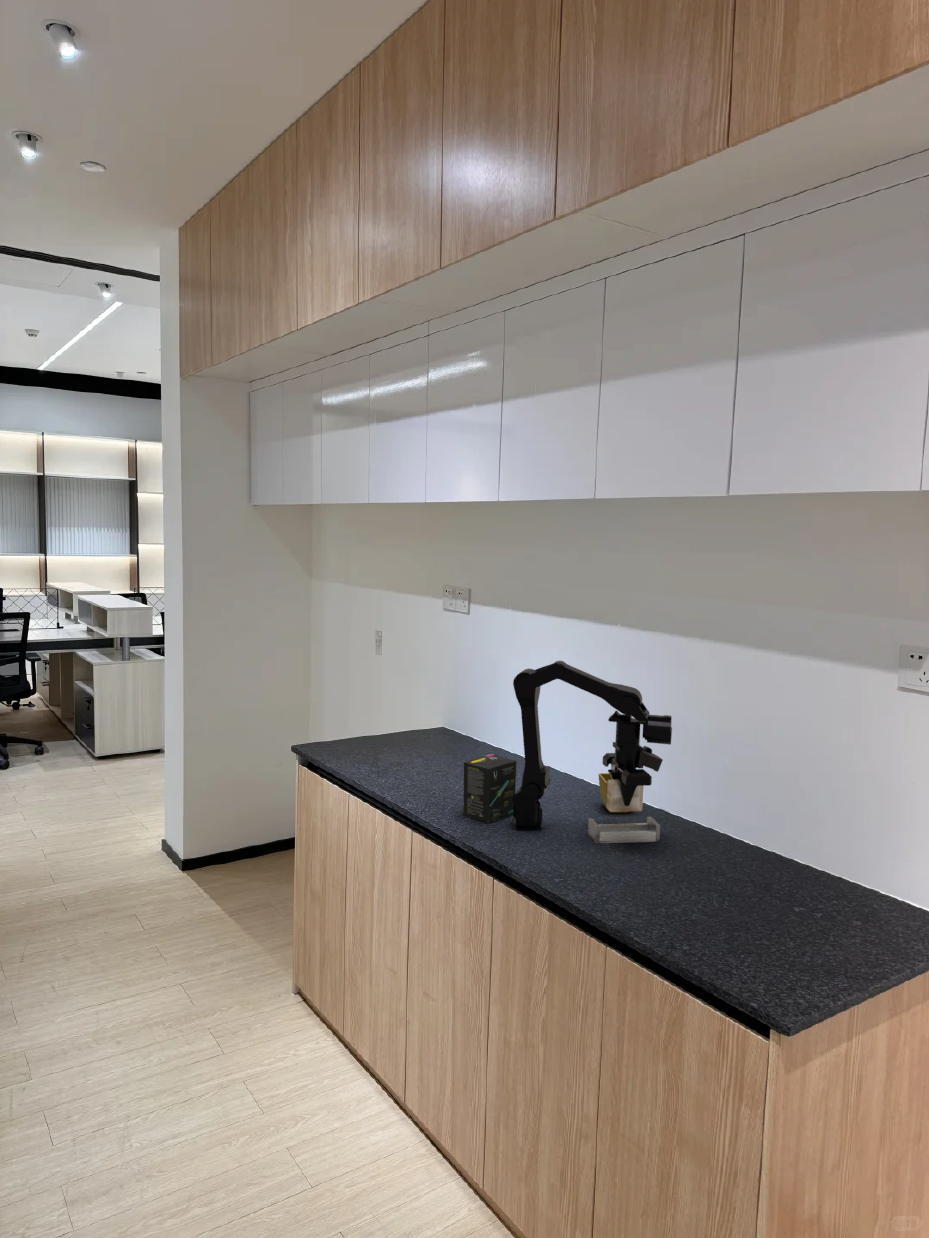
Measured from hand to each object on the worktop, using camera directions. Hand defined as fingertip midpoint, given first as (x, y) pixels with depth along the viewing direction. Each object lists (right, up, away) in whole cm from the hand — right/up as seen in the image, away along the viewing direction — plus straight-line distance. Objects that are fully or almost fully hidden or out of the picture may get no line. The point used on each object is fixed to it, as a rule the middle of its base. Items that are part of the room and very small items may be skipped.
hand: (624, 803), depth 202 cm
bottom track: (0, -9, +1) cm, 9 cm away
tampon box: (-33, -7, +15) cm, 37 cm away
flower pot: (+2, -7, +21) cm, 22 cm away
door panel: (0, -2, 0) cm, 2 cm away
